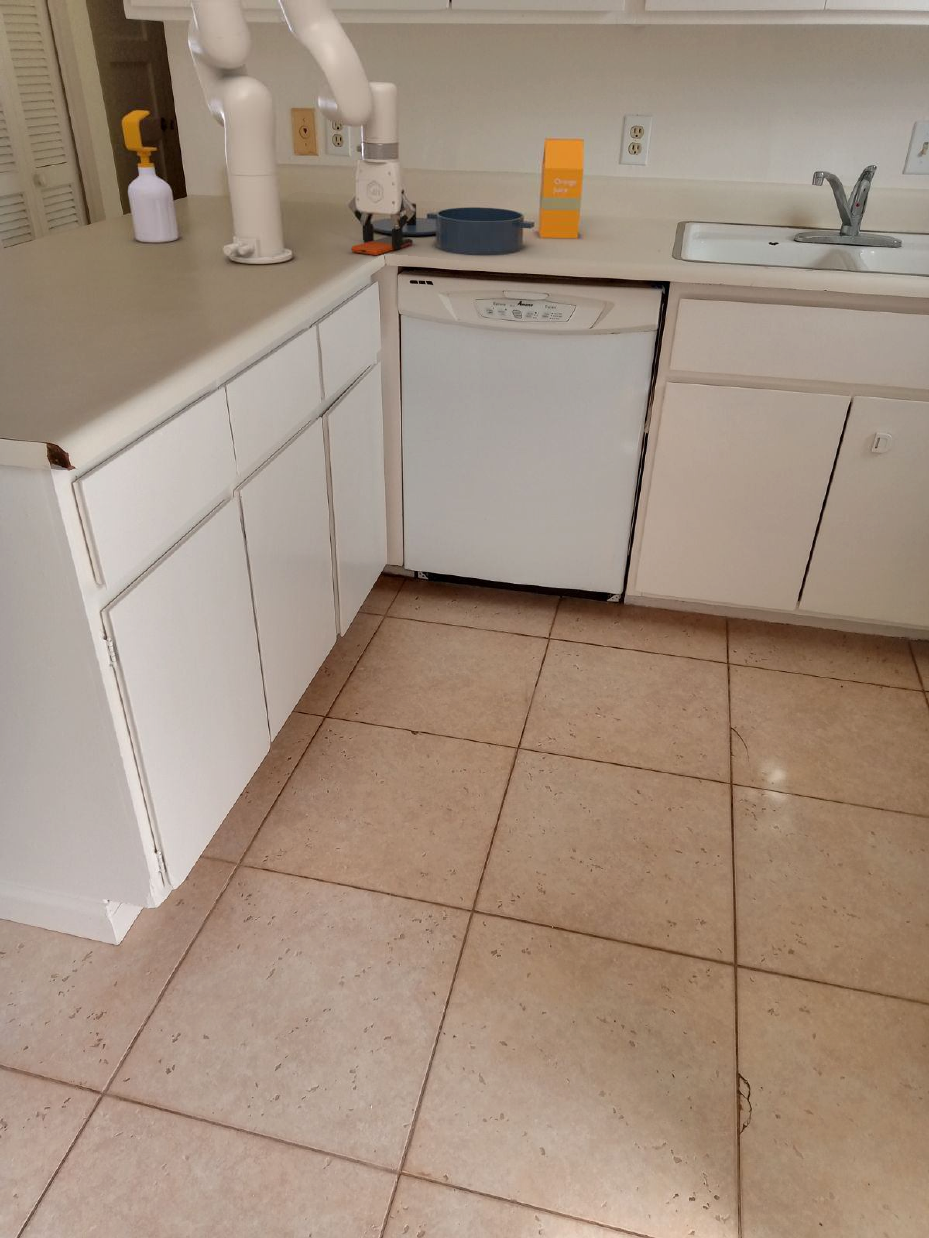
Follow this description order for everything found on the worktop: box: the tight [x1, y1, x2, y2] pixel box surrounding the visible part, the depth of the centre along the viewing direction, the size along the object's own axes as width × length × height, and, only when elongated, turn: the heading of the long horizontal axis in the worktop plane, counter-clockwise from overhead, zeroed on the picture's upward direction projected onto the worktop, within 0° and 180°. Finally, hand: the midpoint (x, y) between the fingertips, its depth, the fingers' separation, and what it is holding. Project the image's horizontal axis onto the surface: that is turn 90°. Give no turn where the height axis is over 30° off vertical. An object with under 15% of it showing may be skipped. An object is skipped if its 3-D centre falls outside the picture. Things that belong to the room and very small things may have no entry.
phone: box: [351, 235, 413, 256], centre depth 191 cm, size 6×1×15 cm
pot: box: [426, 206, 535, 256], centre depth 194 cm, size 19×24×6 cm
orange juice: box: [537, 138, 584, 239], centre depth 204 cm, size 8×9×20 cm
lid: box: [371, 202, 436, 237], centre depth 210 cm, size 20×20×6 cm
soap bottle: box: [121, 109, 179, 244], centre depth 188 cm, size 9×9×25 cm
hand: (382, 245), depth 191 cm, fingers closed on phone, 6 cm apart
